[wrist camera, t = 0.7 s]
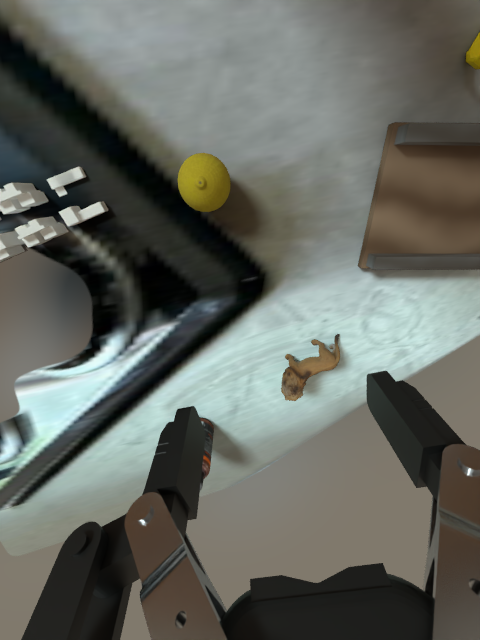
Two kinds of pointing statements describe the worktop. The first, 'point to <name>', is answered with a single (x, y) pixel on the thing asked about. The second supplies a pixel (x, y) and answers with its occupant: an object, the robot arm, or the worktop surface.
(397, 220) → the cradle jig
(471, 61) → the watch
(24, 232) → the modular blocks
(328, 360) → the lion figurine
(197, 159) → the lemon
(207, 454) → the supplement bottle
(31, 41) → the worktop surface
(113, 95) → the worktop surface
